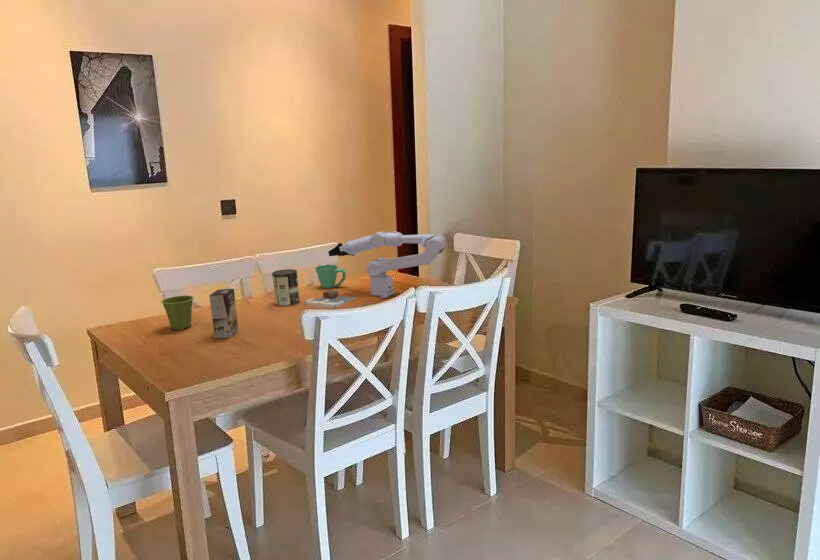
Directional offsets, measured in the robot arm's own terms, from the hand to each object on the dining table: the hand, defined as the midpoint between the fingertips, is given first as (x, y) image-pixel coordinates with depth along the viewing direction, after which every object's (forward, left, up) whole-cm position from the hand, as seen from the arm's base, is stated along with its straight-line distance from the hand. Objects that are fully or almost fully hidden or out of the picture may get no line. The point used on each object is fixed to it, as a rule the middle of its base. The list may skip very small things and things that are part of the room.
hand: (333, 253), depth 278 cm
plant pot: (+29, +61, -18) cm, 70 cm away
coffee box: (+5, +61, -18) cm, 64 cm away
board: (-7, +13, -18) cm, 23 cm away
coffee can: (+10, +21, -18) cm, 30 cm away
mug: (+7, -7, -18) cm, 21 cm away
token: (-3, +8, -17) cm, 19 cm away
